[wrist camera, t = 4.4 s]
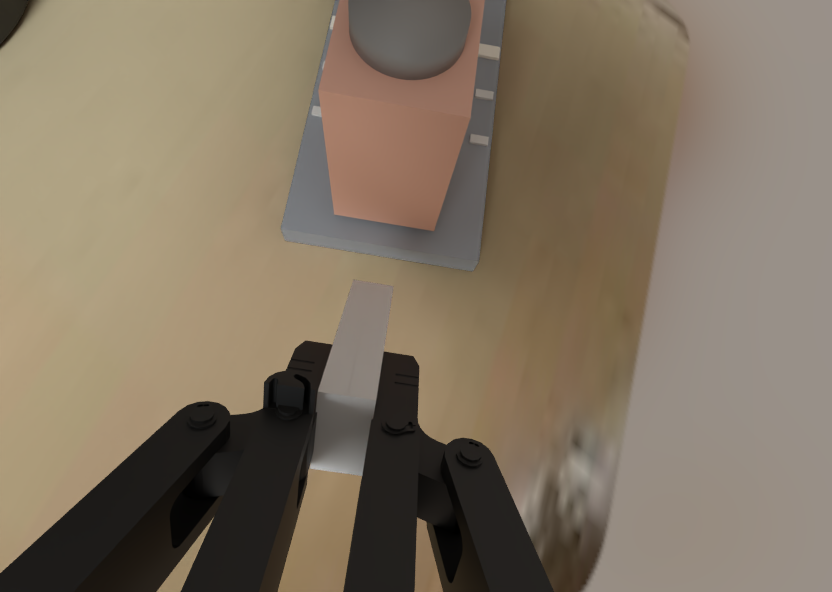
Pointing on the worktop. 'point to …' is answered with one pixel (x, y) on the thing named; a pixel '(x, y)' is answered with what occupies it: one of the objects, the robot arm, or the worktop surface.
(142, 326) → the worktop surface
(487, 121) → the slate track
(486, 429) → the worktop surface
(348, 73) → the terracotta plug block
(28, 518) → the worktop surface
